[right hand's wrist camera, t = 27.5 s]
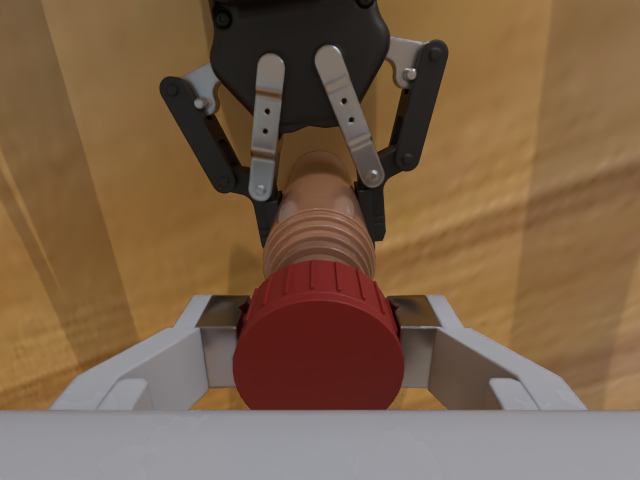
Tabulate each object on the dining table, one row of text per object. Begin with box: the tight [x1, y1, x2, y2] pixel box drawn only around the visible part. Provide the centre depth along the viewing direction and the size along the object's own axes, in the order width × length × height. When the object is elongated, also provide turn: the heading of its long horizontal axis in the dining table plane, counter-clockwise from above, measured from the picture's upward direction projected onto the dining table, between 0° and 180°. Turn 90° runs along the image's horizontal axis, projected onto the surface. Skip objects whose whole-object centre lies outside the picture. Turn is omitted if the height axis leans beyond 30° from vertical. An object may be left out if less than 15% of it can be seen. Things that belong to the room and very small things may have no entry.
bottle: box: [263, 151, 376, 281], centre depth 18 cm, size 4×4×18 cm
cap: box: [232, 259, 405, 410], centre depth 9 cm, size 4×4×2 cm
